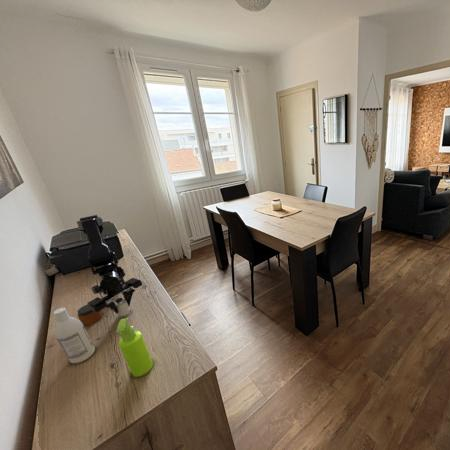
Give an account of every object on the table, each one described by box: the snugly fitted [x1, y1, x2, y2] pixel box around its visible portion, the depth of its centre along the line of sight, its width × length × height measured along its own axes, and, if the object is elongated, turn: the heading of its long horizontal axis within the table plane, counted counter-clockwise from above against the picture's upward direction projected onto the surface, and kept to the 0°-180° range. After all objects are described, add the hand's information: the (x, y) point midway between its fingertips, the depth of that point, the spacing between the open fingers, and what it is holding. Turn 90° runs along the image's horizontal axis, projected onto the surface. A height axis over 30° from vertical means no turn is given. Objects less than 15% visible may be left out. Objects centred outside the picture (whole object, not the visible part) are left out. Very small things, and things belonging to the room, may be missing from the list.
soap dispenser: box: [115, 317, 154, 378], centre depth 74 cm, size 6×7×20 cm
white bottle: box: [114, 297, 131, 317], centre depth 102 cm, size 4×4×7 cm
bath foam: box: [52, 307, 96, 364], centre depth 81 cm, size 7×7×20 cm
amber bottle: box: [76, 304, 103, 326], centre depth 101 cm, size 7×7×6 cm
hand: (123, 309), depth 103 cm, fingers closed on white bottle, 4 cm apart
